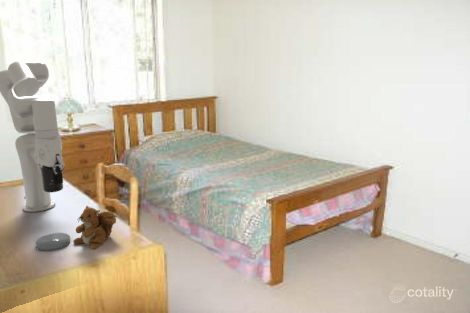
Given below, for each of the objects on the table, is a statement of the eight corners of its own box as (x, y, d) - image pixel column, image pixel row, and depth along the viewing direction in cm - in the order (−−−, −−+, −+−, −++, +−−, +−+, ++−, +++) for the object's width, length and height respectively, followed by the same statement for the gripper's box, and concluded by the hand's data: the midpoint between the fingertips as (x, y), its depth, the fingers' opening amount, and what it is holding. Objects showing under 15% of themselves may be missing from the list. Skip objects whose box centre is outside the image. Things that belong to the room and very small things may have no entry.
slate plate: (29, 245, 147) (29, 241, 147) (58, 234, 156) (58, 230, 156) (48, 254, 141) (47, 249, 141) (76, 241, 150) (76, 237, 149)
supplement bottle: (56, 193, 152) (52, 161, 149) (39, 192, 154) (35, 160, 150) (67, 187, 159) (63, 156, 156) (50, 186, 160) (47, 155, 157)
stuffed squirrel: (71, 244, 148) (66, 209, 144) (104, 230, 159) (101, 196, 155) (88, 252, 142) (84, 215, 139) (122, 237, 153) (119, 202, 150)
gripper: (23, 132, 152) (29, 180, 157) (51, 138, 143) (57, 189, 148) (42, 129, 158) (48, 175, 163) (71, 134, 149) (76, 183, 153)
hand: (52, 181), depth 155 cm, fingers closed on supplement bottle, 6 cm apart
